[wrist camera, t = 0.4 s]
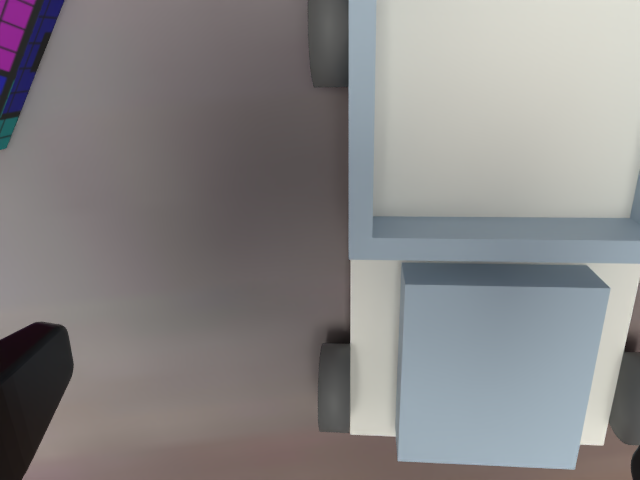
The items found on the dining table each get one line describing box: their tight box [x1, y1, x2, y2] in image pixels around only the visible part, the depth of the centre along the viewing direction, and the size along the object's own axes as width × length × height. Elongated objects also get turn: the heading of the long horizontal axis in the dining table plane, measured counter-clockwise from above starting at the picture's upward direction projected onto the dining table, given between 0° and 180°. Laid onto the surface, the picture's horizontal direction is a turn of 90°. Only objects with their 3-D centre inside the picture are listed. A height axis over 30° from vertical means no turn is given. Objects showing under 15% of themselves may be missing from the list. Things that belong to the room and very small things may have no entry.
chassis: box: [308, 0, 640, 470], centre depth 19 cm, size 20×13×4 cm
